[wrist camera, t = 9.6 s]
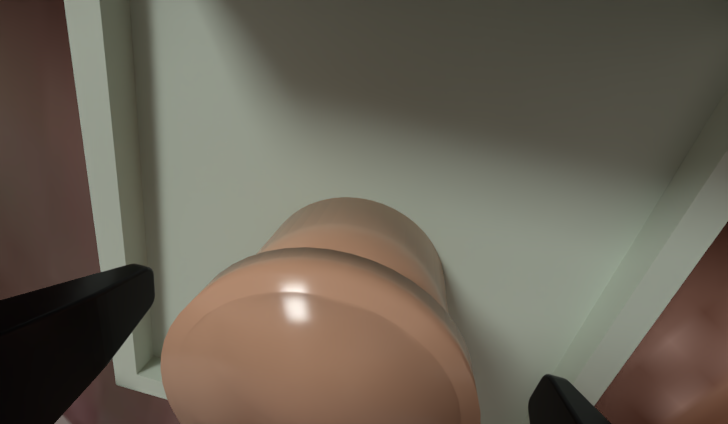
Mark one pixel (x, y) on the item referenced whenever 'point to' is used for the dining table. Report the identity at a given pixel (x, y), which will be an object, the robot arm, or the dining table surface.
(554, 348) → the propagator bed
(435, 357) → the round cabinet knob
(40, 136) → the dining table surface
